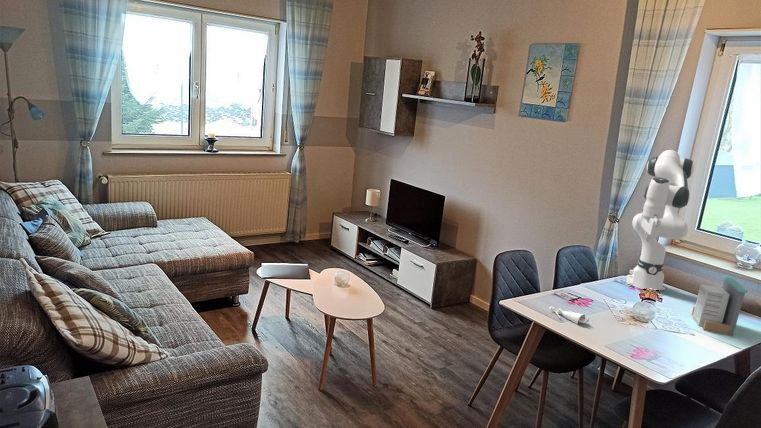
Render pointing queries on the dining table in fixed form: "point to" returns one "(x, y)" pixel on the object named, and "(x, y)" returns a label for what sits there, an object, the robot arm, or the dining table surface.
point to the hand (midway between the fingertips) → (646, 241)
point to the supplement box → (710, 305)
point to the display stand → (728, 308)
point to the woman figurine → (570, 315)
